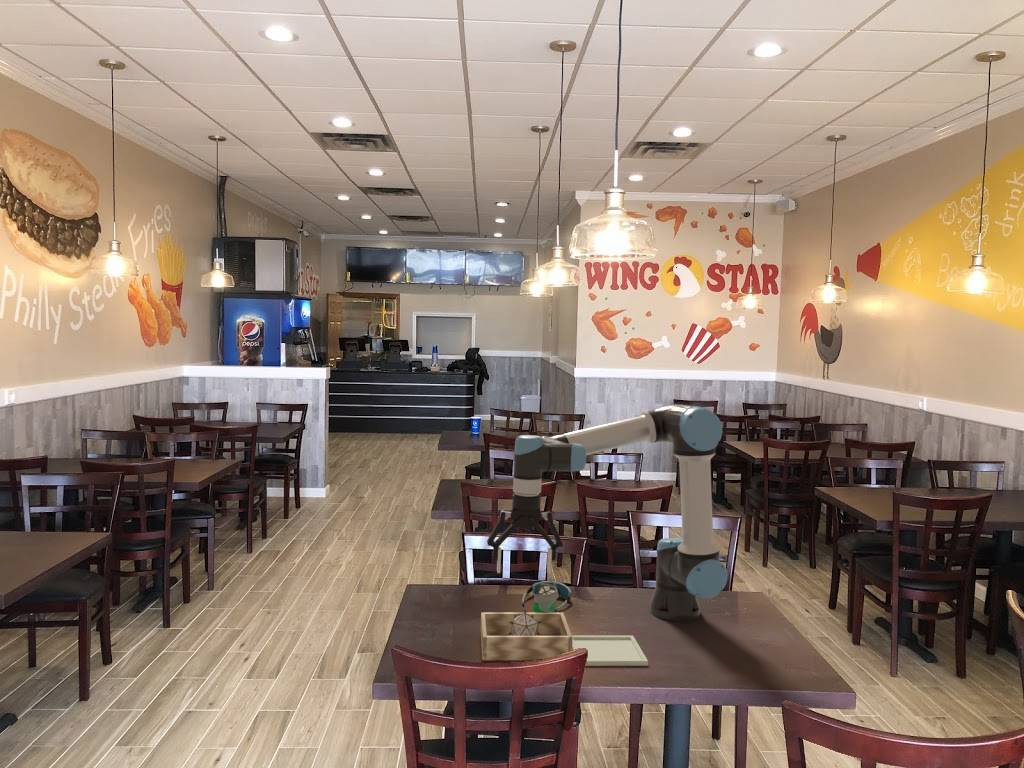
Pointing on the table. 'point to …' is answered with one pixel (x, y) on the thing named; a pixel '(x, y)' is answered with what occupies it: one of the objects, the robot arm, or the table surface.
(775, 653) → the table surface
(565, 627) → the birch crate
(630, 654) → the tray
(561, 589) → the sunglasses
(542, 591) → the food container
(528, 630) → the game die
